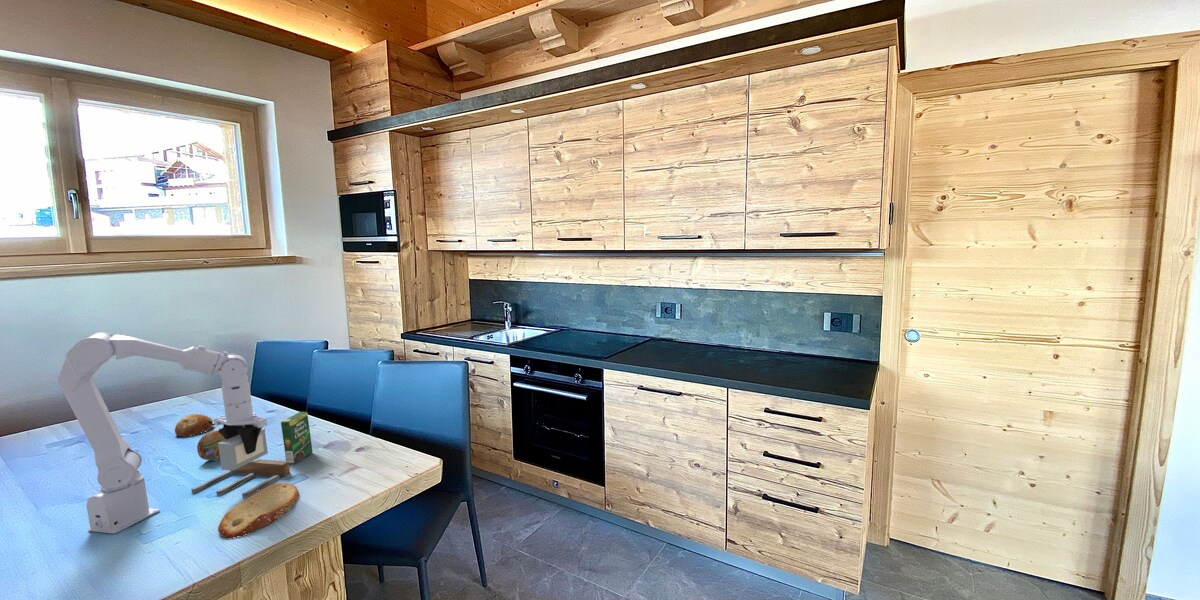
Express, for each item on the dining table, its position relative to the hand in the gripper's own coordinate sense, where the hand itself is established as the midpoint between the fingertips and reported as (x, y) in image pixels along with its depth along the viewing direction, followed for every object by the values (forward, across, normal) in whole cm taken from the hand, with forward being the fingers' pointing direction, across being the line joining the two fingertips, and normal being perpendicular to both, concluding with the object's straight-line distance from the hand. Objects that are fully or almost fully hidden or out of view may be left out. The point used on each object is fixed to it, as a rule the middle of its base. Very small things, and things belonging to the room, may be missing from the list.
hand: (244, 452), depth 127 cm
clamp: (+9, +4, -1) cm, 10 cm away
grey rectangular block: (+3, 0, 0) cm, 3 cm away
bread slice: (+10, -14, +10) cm, 20 cm away
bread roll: (+10, +57, -31) cm, 65 cm away
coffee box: (+10, 0, -16) cm, 19 cm away
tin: (+10, +27, -16) cm, 33 cm away
